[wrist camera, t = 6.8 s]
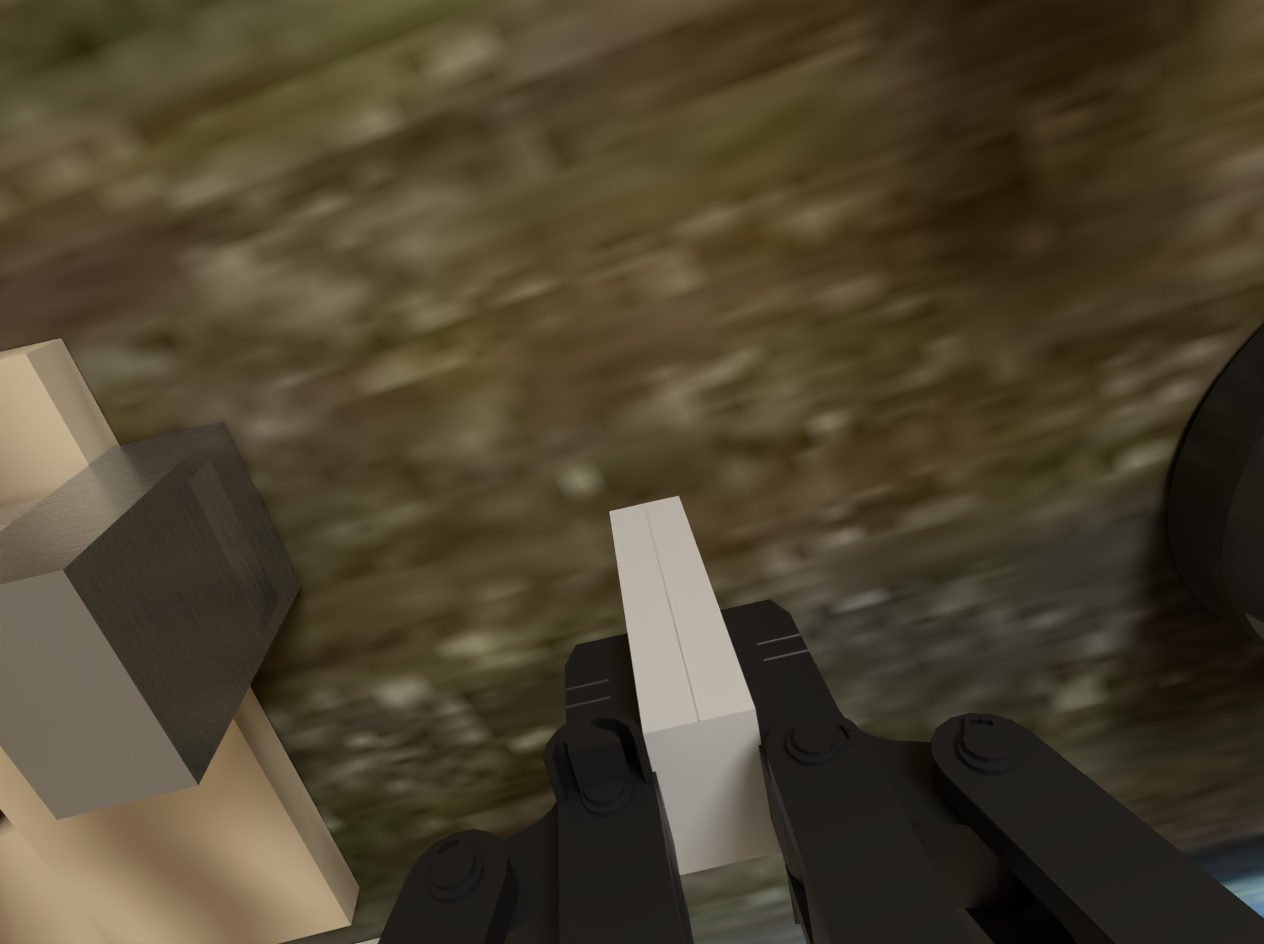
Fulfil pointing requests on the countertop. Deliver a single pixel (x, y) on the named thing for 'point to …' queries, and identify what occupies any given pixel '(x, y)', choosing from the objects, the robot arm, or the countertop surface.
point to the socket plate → (165, 824)
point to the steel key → (135, 619)
